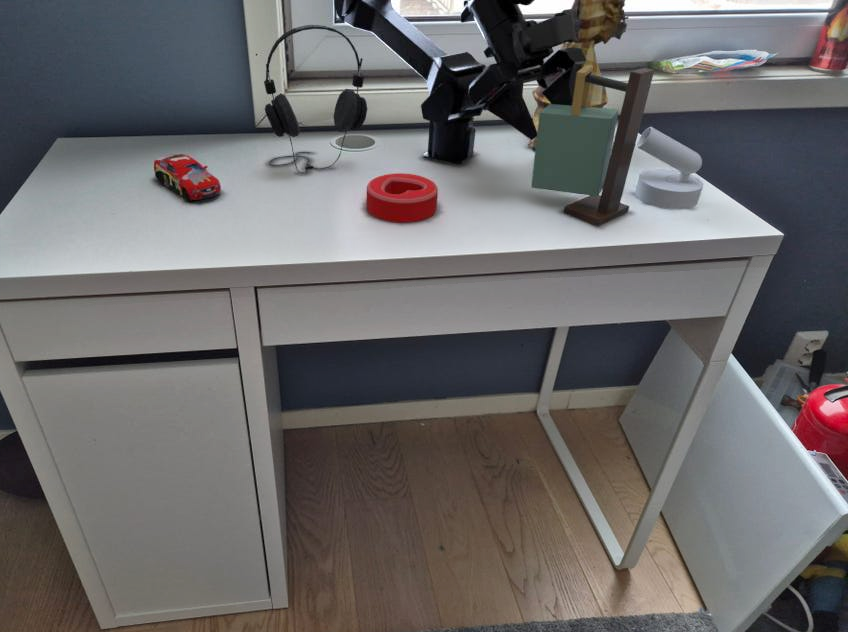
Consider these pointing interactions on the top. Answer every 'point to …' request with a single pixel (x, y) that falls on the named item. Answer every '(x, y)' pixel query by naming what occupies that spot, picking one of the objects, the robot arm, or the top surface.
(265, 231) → the top surface
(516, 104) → the robot arm
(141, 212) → the top surface
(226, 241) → the top surface
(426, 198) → the decorative ornament
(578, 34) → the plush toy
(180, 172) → the race car
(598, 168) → the tote bag
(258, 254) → the top surface
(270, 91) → the headphones
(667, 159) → the grey spotlight lamp
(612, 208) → the hook stand
